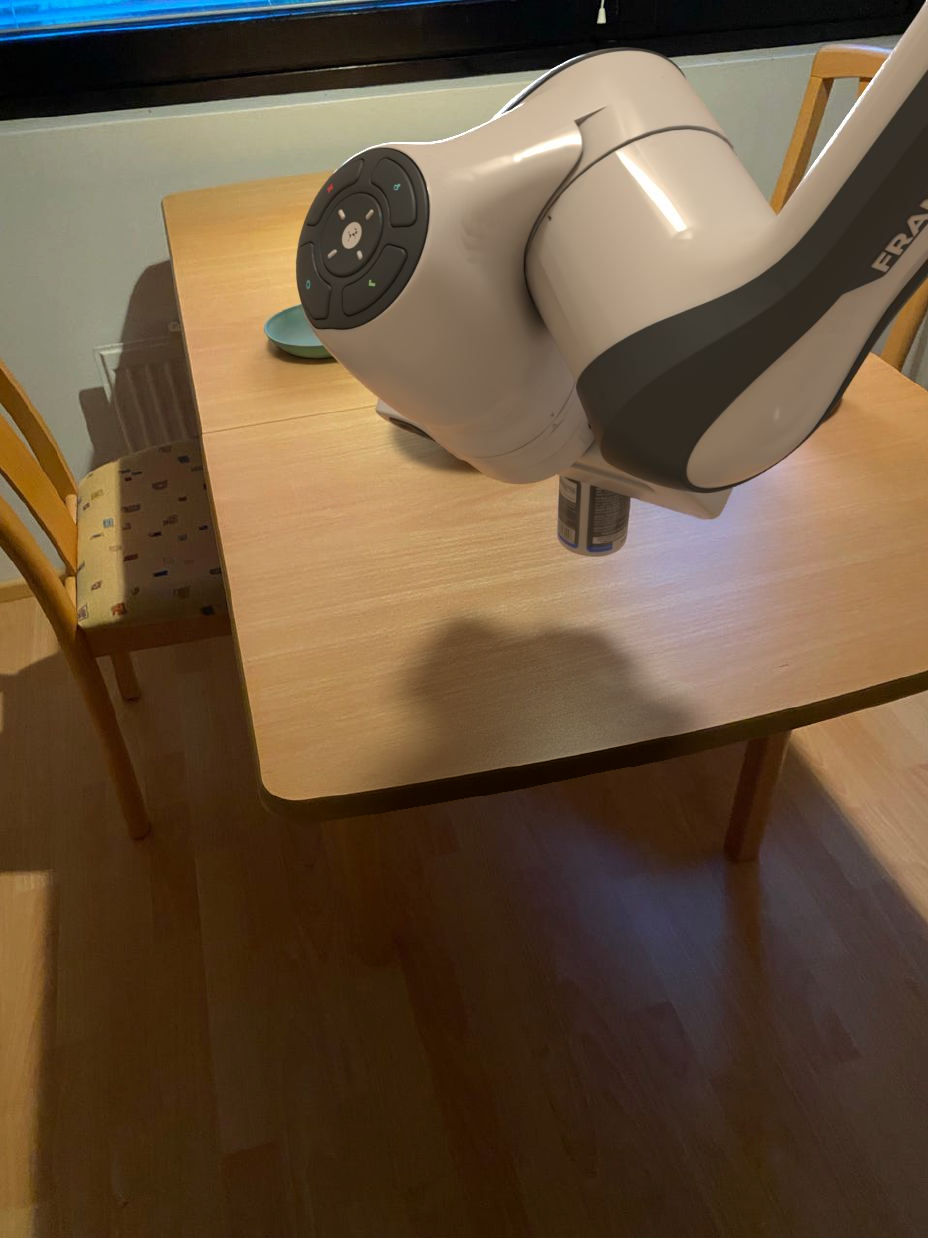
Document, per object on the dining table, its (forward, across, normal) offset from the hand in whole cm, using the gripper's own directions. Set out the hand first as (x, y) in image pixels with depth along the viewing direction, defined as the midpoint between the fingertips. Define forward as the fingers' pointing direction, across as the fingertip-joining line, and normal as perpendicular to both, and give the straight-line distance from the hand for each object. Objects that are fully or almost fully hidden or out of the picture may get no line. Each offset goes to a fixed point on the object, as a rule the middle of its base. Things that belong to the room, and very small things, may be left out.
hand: (602, 475), depth 61 cm
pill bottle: (+3, 0, +4) cm, 5 cm away
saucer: (+33, +58, -13) cm, 68 cm away
